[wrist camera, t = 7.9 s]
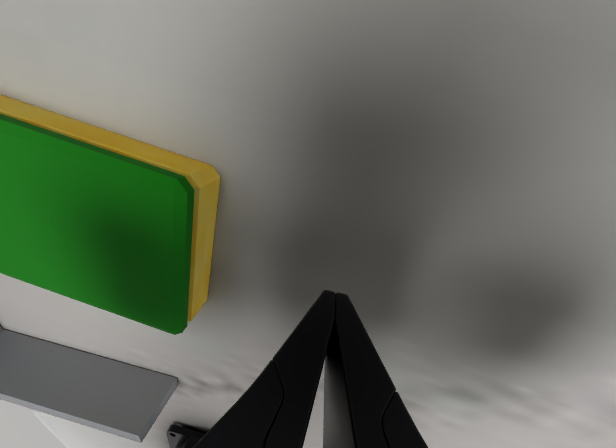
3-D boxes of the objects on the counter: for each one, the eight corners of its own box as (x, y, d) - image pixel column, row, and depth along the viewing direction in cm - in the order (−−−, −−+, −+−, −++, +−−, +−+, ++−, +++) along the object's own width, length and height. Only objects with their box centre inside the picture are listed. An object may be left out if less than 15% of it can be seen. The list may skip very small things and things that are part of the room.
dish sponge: (211, 298, 12) (180, 340, 10) (-34, 213, 12) (-118, 234, 10) (227, 166, 9) (185, 183, 6) (-109, 53, 9) (-258, 33, 7)
